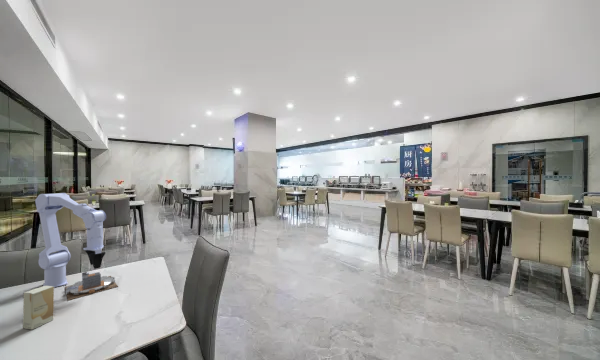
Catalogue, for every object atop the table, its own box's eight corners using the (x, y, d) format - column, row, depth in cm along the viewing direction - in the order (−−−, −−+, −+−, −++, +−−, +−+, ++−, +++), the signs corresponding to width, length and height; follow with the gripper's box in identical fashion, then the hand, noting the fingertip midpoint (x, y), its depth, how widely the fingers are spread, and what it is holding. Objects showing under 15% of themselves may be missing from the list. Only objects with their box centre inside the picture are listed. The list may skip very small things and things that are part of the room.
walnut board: (65, 287, 112) (65, 286, 112) (110, 276, 125) (110, 275, 125) (67, 300, 100) (67, 299, 100) (118, 286, 113) (118, 286, 113)
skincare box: (31, 330, 80) (31, 294, 80) (22, 328, 81) (21, 293, 81) (55, 319, 87) (54, 285, 87) (45, 317, 88) (45, 284, 87)
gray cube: (82, 286, 109) (82, 275, 109) (99, 282, 113) (99, 271, 113) (83, 289, 106) (83, 278, 106) (100, 285, 111) (100, 274, 111)
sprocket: (53, 295, 103) (53, 282, 103) (88, 278, 121) (88, 267, 121) (95, 294, 104) (95, 282, 104) (123, 277, 122) (123, 266, 121)
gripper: (80, 236, 112) (81, 265, 112) (86, 241, 103) (86, 272, 103) (100, 233, 118) (100, 260, 118) (107, 238, 108) (107, 267, 108)
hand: (95, 266), depth 111 cm, fingers open, 7 cm apart
